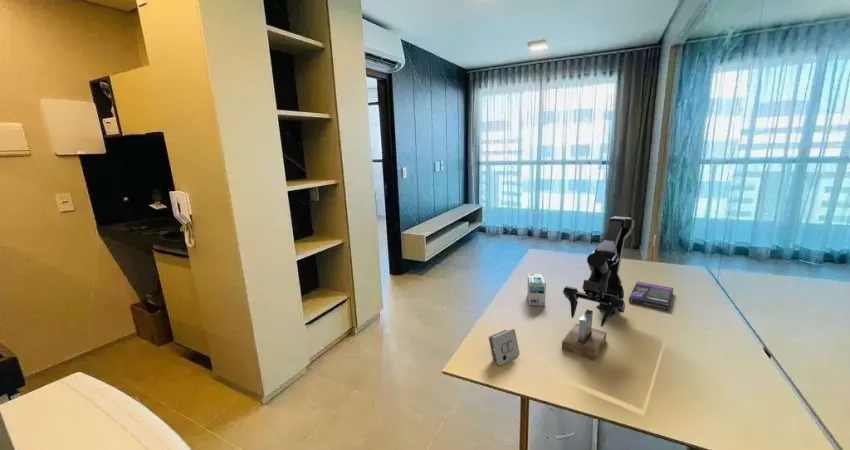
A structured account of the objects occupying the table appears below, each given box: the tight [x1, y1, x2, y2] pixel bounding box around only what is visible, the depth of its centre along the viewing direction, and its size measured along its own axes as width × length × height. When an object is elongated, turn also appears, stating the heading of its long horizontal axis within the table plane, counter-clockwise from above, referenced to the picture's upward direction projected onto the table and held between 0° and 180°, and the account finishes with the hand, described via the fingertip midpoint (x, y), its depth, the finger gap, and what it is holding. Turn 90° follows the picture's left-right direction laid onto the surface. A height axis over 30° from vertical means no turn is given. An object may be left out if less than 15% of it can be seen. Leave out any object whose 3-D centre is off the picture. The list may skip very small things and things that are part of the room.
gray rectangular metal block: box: [578, 309, 594, 344], centre depth 112 cm, size 8×2×11 cm, turn 139°
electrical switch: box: [488, 328, 520, 366], centre depth 109 cm, size 9×5×9 cm, turn 121°
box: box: [628, 281, 674, 312], centre depth 145 cm, size 14×4×20 cm
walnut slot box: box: [561, 323, 608, 361], centre depth 113 cm, size 14×10×4 cm
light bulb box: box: [526, 272, 547, 307], centre depth 146 cm, size 11×7×11 cm, turn 168°
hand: (586, 321), depth 112 cm, fingers open, 9 cm apart
